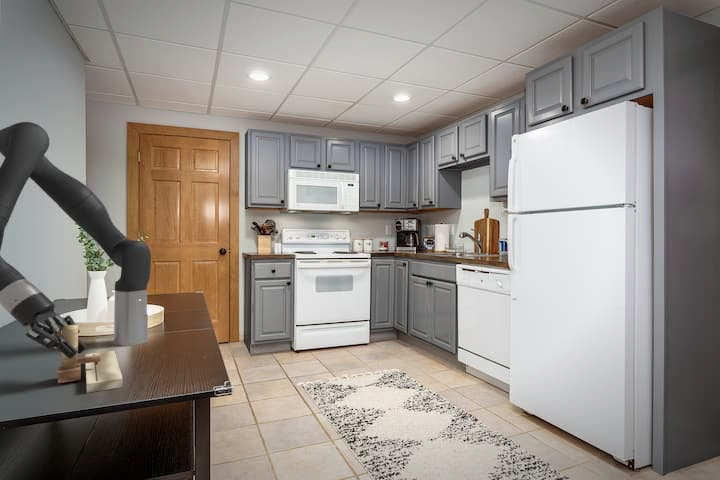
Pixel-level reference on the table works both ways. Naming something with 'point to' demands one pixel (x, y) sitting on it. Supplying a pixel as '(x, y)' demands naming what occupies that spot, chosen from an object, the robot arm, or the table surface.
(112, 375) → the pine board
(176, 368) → the table surface
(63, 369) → the marking gauge
